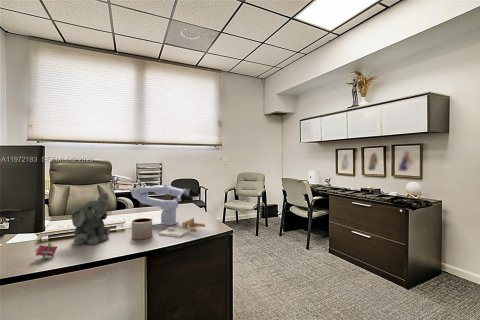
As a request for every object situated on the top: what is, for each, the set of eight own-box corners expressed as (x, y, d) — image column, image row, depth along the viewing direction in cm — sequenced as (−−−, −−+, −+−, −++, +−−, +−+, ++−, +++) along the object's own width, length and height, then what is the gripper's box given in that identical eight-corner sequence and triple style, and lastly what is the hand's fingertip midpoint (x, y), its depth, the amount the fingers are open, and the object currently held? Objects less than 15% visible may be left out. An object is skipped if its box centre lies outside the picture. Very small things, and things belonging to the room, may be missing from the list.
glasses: (204, 225, 154) (204, 219, 154) (195, 231, 143) (195, 224, 143) (192, 224, 157) (192, 217, 157) (182, 229, 146) (182, 222, 146)
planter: (127, 238, 130) (127, 221, 130) (143, 232, 140) (143, 216, 140) (140, 241, 125) (140, 223, 125) (156, 235, 135) (156, 219, 135)
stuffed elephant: (107, 245, 119) (107, 193, 119) (61, 248, 116) (61, 194, 115) (119, 233, 138) (119, 188, 138) (80, 235, 134) (80, 188, 134)
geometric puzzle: (59, 247, 110) (46, 237, 107) (63, 251, 106) (49, 240, 102) (44, 260, 106) (29, 250, 102) (47, 265, 102) (32, 254, 98)
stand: (190, 231, 143) (190, 226, 143) (179, 237, 131) (179, 232, 131) (171, 228, 147) (171, 224, 147) (159, 234, 136) (159, 230, 136)
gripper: (171, 190, 149) (189, 195, 145) (184, 183, 162) (201, 188, 158) (171, 200, 151) (189, 205, 146) (184, 193, 164) (201, 197, 159)
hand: (195, 197), depth 152 cm, fingers open, 7 cm apart
